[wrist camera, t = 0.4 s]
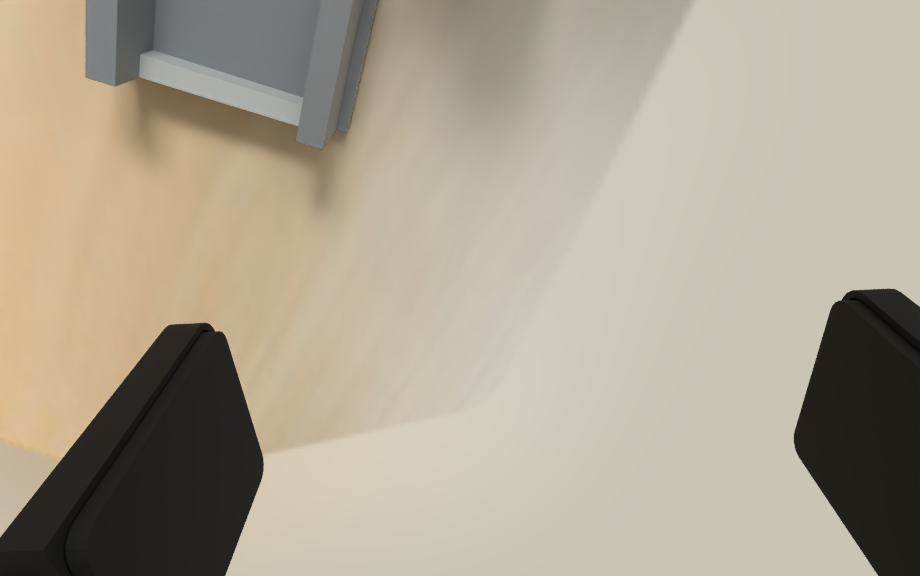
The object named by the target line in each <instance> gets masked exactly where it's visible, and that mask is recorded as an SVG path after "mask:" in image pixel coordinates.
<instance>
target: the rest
mask: <svg viewBox="0 0 920 576" xmlns="http://www.w3.org/2000/svg"><path fill="white" fill-rule="evenodd" d="M377 3H378V0H86V78H88V79H92V80H95V81H98V82H102V83H105V84H108V85H111V86H118V85H120V84H123V83H126V82H128V81H131V80H133V79H136V78H138V77H140V78H143V79H146V80H150V81H153V82H156V83H159V84H163V85H166V86H169V87H172V88H176V89H179V90H182V91H185V92H189V93H192V94H195V95H198V96H202V97H205V98H208V99H211V100H214V101H218V102H221V103H224V104H227V105H231V106H234V107H237V108H240V109H244V110H247V111H250V112H253V113H257V114H260V115H263V116H266V117H270V118H273V119H276V120H279V121H282V122H286V123H289V124H292V125H295V126H298V130H297V136H296V141H295V142H299V143H302V144H305V145H308V146H312V147H315V148H318V149H323V148H324V146H325V145H326V143H327V142H328V140H329V139H330V138H331V136H332V135H333V133H334V132H335V130H339V131H343V132H347V131H348V129H349V127H350V122H351V118H352V113H353V109H354V104H355V100H356V96H357V91H358V87H359V82H360V78H361V73H362V69H363V65H364V60H365V56H366V51H367V47H368V43H369V38H370V34H371V29H372V25H373V20H374V16H375V12H376V7H377Z"/></svg>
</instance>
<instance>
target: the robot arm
mask: <svg viewBox="0 0 920 576" xmlns="http://www.w3.org/2000/svg"><path fill="white" fill-rule="evenodd" d="M794 444H795V449H796V452H797V454H798V456H799V458H800V459H801V460H802V462H803V464H804V465H805V467H806V468H807V470H808V471H809V473H810V474H811V476H812V477H813V479H814V480H815V482H816V483H817V485H818V486H819V488H820V489H821V491H822V492H823V494H824V495H825V497H826V498H827V500H828V501H829V503H830V504H831V506H832V507H833V509H834V510H835V512H836V513H837V515H838V516H839V518H840V519H841V521H842V522H843V524H844V525H845V526H846V528H847V530H848V531H849V532H850V534H851V535H852V537H853V539H854V540H855V542H856V543H857V545H858V546H859V547H860V549H861V550H862V552H863V553H864V555H865V556H866V558H867V559H868V561H869V562H870V564H871V565H872V567H873V568H874V570H875V571H876V573H877V574H878V576H920V307H919V306H918V305H916V304H915V303H914V302H912V301H911V300H910V299H909V298H907V297H906V296H905V295H904V294H902V293H901V292H899V291H897V290H895V289H873V290H853V291H850V292H848V293H847V294H846V295H845V296H844V297H843V299H842V301H838V302H835V304H834V305H833V306H832V308H831V310H830V314H829V317H828V320H827V324H826V328H825V331H824V334H823V337H822V341H821V344H820V348H819V351H818V355H817V358H816V361H815V364H814V368H813V372H812V375H811V378H810V381H809V385H808V388H807V392H806V395H805V398H804V402H803V405H802V408H801V412H800V415H799V419H798V422H797V426H796V429H795V433H794ZM263 465H264V464H263V456H262V452H261V449H260V446H259V442H258V439H257V436H256V433H255V429H254V426H253V423H252V420H251V416H250V413H249V410H248V407H247V404H246V400H245V397H244V394H243V391H242V387H241V384H240V381H239V378H238V374H237V371H236V368H235V365H234V361H233V358H232V355H231V352H230V349H229V345H228V342H227V339H226V337H225V335H224V334H223V333H222V332H220V331H218V332H215V331H214V328H213V327H212V326H211V325H210V324H208V323H194V324H174V325H168V326H167V327H166V328H165V329H164V330H163V331H162V333H161V334H160V335H159V337H158V338H157V339H156V340H155V342H154V343H153V344H152V345H151V347H150V348H149V349H148V350H147V352H146V353H145V354H144V356H143V357H142V358H141V359H140V361H139V362H138V363H137V364H136V366H135V367H134V368H133V370H132V371H131V372H130V373H129V375H128V376H127V377H126V378H125V380H124V381H123V382H122V384H121V385H120V386H119V387H118V389H117V390H116V391H115V392H114V394H113V395H112V396H111V397H110V399H109V400H108V401H107V403H106V404H105V405H104V406H103V408H102V409H101V410H100V411H99V413H98V414H97V415H96V417H95V418H94V419H93V420H92V422H91V423H90V424H89V425H88V427H87V428H86V429H85V431H84V432H83V433H82V434H81V436H80V437H79V438H78V439H77V441H76V442H75V443H74V444H73V446H72V447H71V448H70V450H69V451H68V452H67V453H66V455H65V456H64V457H63V458H62V460H61V461H60V462H59V464H58V465H57V466H56V467H55V469H54V470H53V471H52V473H51V474H50V475H49V476H48V478H47V479H46V480H45V481H44V483H43V484H42V485H41V486H40V488H39V489H38V490H37V492H36V493H35V494H34V495H33V497H32V498H31V499H30V500H29V502H28V503H27V504H26V506H25V507H24V508H23V509H22V511H21V512H20V513H19V514H18V516H17V517H16V518H15V519H14V521H13V522H12V524H11V525H10V526H9V527H8V528H7V530H6V531H5V532H4V534H3V535H2V536H1V537H0V576H225V575H226V572H227V569H228V566H229V564H230V561H231V559H232V556H233V553H234V551H235V548H236V546H237V543H238V540H239V537H240V535H241V532H242V530H243V527H244V524H245V522H246V519H247V516H248V514H249V511H250V508H251V506H252V503H253V501H254V498H255V495H256V493H257V490H258V487H259V485H260V482H261V479H262V475H263Z"/></svg>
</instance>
